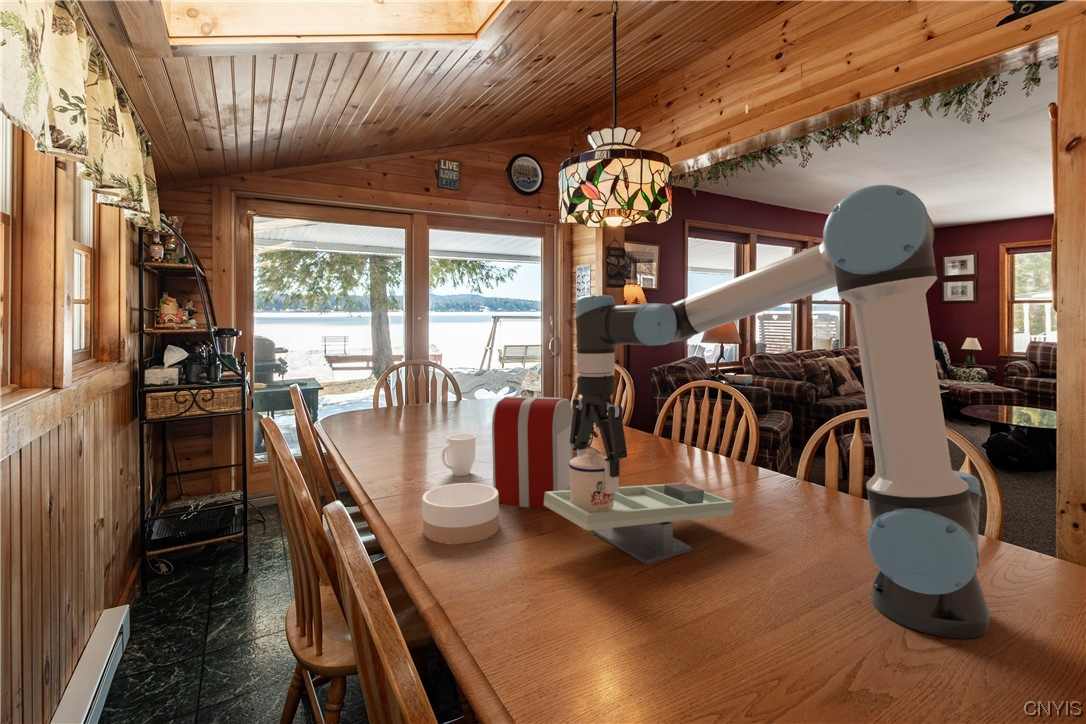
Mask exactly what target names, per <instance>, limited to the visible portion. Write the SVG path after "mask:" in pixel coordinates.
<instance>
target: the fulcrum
mask: <svg viewBox="0 0 1086 724" xmlns="http://www.w3.org/2000/svg"><path fill="white" fill-rule="evenodd" d="M673 526H674V524H673V521H670V522H661V523H652V524H643V525H634V526H624V527H615V528H606V529H597V530H592V534H594V535H595V536H597V537H598V538H600V539H602V540H603V541H605V542H607V543H609V544H610V545H612V546H613V547H615V548H618V549H619V550H621V551H623V553H626V554H627V555H630V556H631V557H632V558H634V559H636V560H638V561H640V562H641V563H643V564H644V565H646V566H647V565H650V564H653V563H657V562H659V561H663V560H667V559H670V558H672V557H676V556H680V555H683V554H685V553H689V552H693V546H691V545H689V544H687V543H685V542H683V541H681V540H679V539H677V538H675V537H674V532H673V531H674V527H673Z"/></svg>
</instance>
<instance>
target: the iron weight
mask: <svg viewBox="0 0 1086 724" xmlns="http://www.w3.org/2000/svg"><path fill="white" fill-rule="evenodd" d="M666 484H667V485H665V488H664V494H665V495H667V496H670V497H672V498H675V499H677V500H680V501H682V502H685V503H687V504H698V503H703V497H704V491H705V490H704V489H702V488H700V487H699V488H698V487H696V486H693V485H691V484H688V483H683V482H682V484H675V483H666Z"/></svg>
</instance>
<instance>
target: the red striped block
mask: <svg viewBox="0 0 1086 724" xmlns="http://www.w3.org/2000/svg"><path fill="white" fill-rule="evenodd" d="M572 418H573V409H572V405H571V402H570V400H569V399H568V398H563V397H551V396H550V397H547V396H546V397H544V396H510V395H508V396H504V397H503V398H501V399H500V400H499V401H497V402H496V404H495V406H494V408H493V413H492V419H491V420H492V421H491V437H492V438H491V439H492V440H491V443H492V444H491V447H492V448H491V449H492V481H493V483H492V484H493V486H492V487H494V488H495V489H497V491H498V495H499V505H503V506H515V507H519V508H520V507H522V508H533V509H534V508H535V509H542V510H543V509H544V510H550V509H549V508H548V507H546V506H544V495H545V492H548V491H564V490H570V467H569V462H570V460H571V459H573V458H574V444H571V443H570V435H571V426H572Z"/></svg>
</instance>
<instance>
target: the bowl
mask: <svg viewBox="0 0 1086 724" xmlns="http://www.w3.org/2000/svg"><path fill="white" fill-rule="evenodd" d="M421 505H422V506H421V509H422V526H423V527H422V529H423V530H422V531H423V532H424V533H423V535H425V536H426V537H427V538H429V539H430V540H429V539H428V540H429V541H431V540H433V541H436V542H440V543H439V544H441V543H449V544H448V545H461V544H460V543H468V544H472V543H471V542H474V543H477V541H478V542H482V541H484V540H486V539H489V538H491V537H493V536H494V535H495V533H496V534H497V532H498V531H499V529H500V507H499V505H500V504H499V495H498V491H497V489H495V488H494V487H493V486H491V485H488V484H483V483H475V482H474V483H473V482H460V483H459V482H458V483H457V482H456V483H451V484H445V485H441V486H437V487H434V488H431V489H430V490H428V491H426V492H424V494H423V495H422V498H421ZM492 535H493V536H492ZM425 536H424V537H425ZM426 537H425V538H426ZM488 537H489V538H488ZM427 538H426V539H427ZM483 539H484V540H483ZM433 541H432V542H433ZM436 542H435V543H436Z"/></svg>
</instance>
